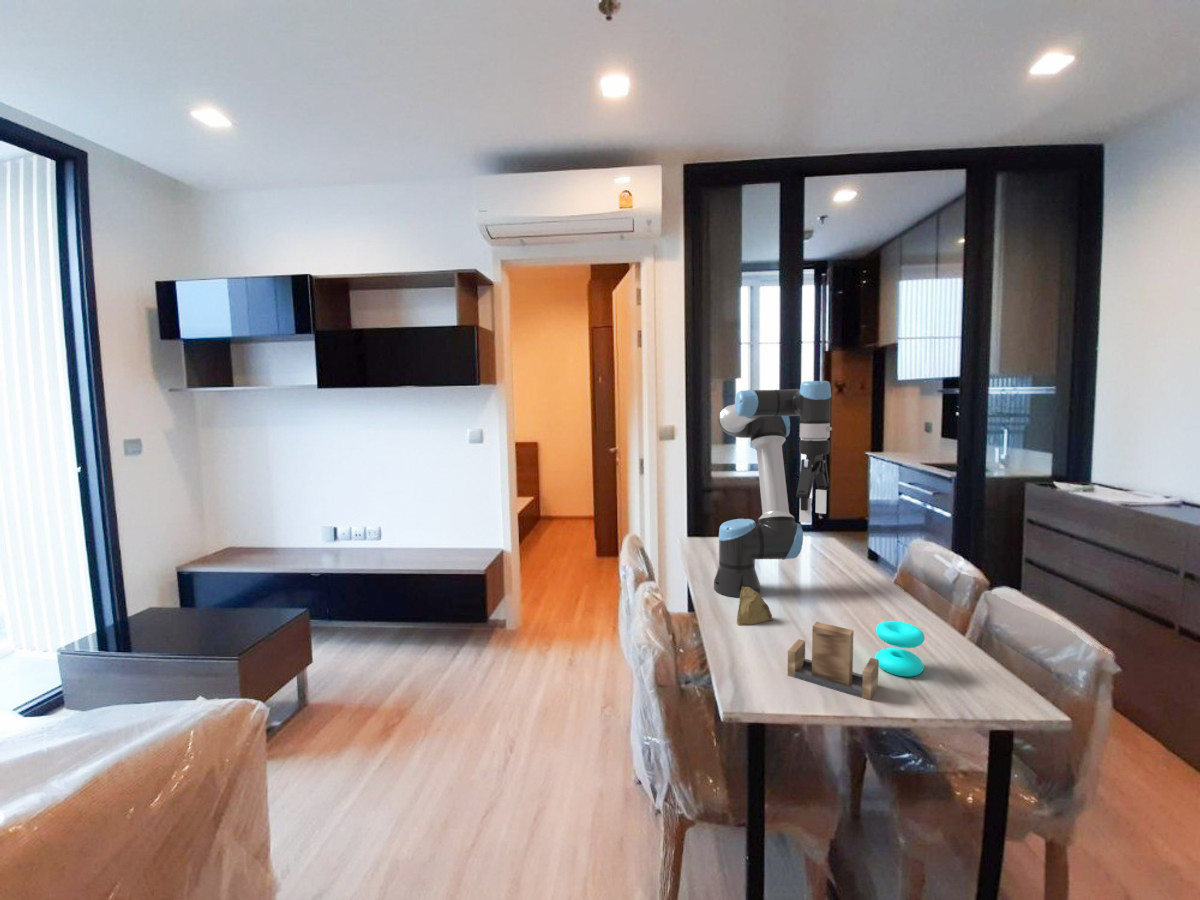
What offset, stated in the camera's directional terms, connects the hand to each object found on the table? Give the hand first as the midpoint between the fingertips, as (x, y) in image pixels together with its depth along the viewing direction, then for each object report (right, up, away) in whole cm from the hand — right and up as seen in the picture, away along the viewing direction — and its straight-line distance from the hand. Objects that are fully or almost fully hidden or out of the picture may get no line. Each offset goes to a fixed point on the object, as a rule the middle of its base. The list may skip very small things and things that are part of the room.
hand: (813, 517), depth 146 cm
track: (-5, -34, -23) cm, 42 cm away
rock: (-13, -31, +10) cm, 35 cm away
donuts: (+13, -34, -18) cm, 40 cm away
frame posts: (-5, -34, -23) cm, 42 cm away
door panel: (-5, -34, -23) cm, 41 cm away
